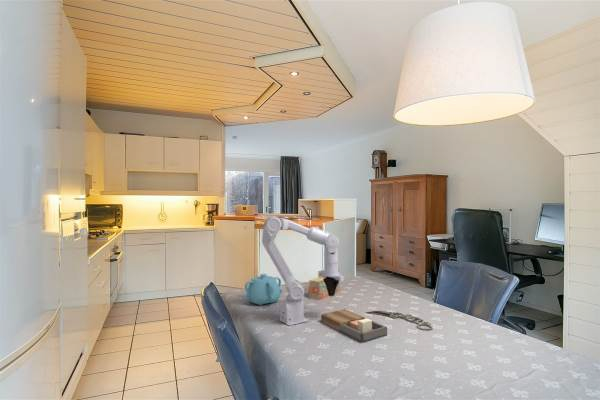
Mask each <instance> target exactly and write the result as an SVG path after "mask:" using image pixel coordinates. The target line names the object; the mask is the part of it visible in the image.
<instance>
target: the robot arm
mask: <svg viewBox="0 0 600 400" xmlns="http://www.w3.org/2000/svg"><path fill="white" fill-rule="evenodd" d="M281 230H282V231H285V230H291V231H293V232H296V233H299V234H302V235H305V236H306V238H307V241H308V240H309V241H311V242H314V243H317V244H319V245H324V246H323V247H324V251H323V253H324V255H323V262H324V263H323V265H324V268H323V269H321V270H322V271H321V270H319V271H320V275H321V276H326V278H324V279H323V281H324V283H325V285H326V287H327V291H328V295H329V297H335V294H336V293H335V291H336V287H337V285H338V283H339V284H340V282H344V281H345V276H344V275H342V274H341V272H340V271H339V272H338V269H339V252H338V251H339V250H338V248H339V246H340V244H341V243H340V239H339V238H338V236H337V235H335V234H333V233H331V232H330V231H328V230H326V231H325V230H322V229H320V227H319V226H311V227H306V226H303V224H299V223H297V222H294V221H292V220H290V219H287V218H284V217H283V218H282V217H278V216H275V215H270V216H268V217H267V218H266V219H265V221H264V223H263V225H262V237H261V243H262V245H263V247H264V249H265V251H266V253H267V254H268V255H269V257H270V259H271V261H272V263H273V265H274V266H275V268H276V269H277V272H278V273H279V275H280V277H281V278H282V280H283V282H284V284H285V286H286V291H287V292H288V295H287V296H286V297H285V299H284V300H281V302H280V305H279V306H280V307H279V313H280V314H279V316H280V317H279V320H278V321H280V322H282V323H284V324H286V326H293V325H298V324H301V323H306V322H309V319H308V318H306V317H305V288H304V287H303V286H302V284H301V282H300V281H299V280H298V279H296V278H295V275H293V272H292V270H291V269H290V267H289V266H288V264H287V262H286V260H285V259H284V256H283V255H282V253H281V252H280V250H279V247H278V246H277V244H276V243H275V240H276V237H277V234H278V233H279V232H280V231H281Z"/></svg>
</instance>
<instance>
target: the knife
mask: <svg viewBox="0 0 600 400" xmlns="http://www.w3.org/2000/svg"><path fill="white" fill-rule="evenodd" d="M366 314H373V315H374V314H375V315H376V314H377V315H382V316H386V317H389V318H392V319H402V320H405V321H407V322H408V323H412V324H415V325H416V327H417V329H419V330H424V331H432V330H433V329H434V328H433V327H432V324H431V323H430V322H428V321H426V320H423V319H421V318H419V317H416V316H413V315H412V314H409V313H401V312H398V311H393V312H391V311H390V312H389V311H386V310H373V311H367V312H366ZM424 326H425V327H424ZM426 327H428V328H426Z"/></svg>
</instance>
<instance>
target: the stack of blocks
mask: <svg viewBox="0 0 600 400" xmlns="http://www.w3.org/2000/svg"><path fill="white" fill-rule="evenodd" d="M322 270H323V269H321V270H318V271H317V277H314V278H312V279H308V283H309V284H308V298H309V299H312V300H318V301H319V300H322V299H325V298H327V297H328V296H329V295H328V291H327V287H326V285H325V283H324V281H323V279H324V278H326V276H321V275H320V271H322ZM338 272H339V273H340V268H338ZM338 292H340V282H339V283H338V285H337V287H336V291H335V294H336V293H338ZM329 297H330V296H329Z"/></svg>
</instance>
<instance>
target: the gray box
mask: <svg viewBox="0 0 600 400" xmlns="http://www.w3.org/2000/svg"><path fill="white" fill-rule="evenodd" d="M363 319H368V318H367V317H364V318H363ZM339 332H340V333H342V334H344V335H345V336H347V337H349V338H352V339H353V340H355V341H357V342H360V343H361V344H363V343H366V342H370V341H373V340H376V339H379V338H380V339H381V338H384V337H387V336H388V327H387V326H385V325H383V324H381V323H378V322H376V321H374V320H372V330H371V331H367V332H363V333H361V332H359V331H357V330H355V329H353V328H351V327H349V326H347V325H345V324H343V323H340V331H339Z"/></svg>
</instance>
